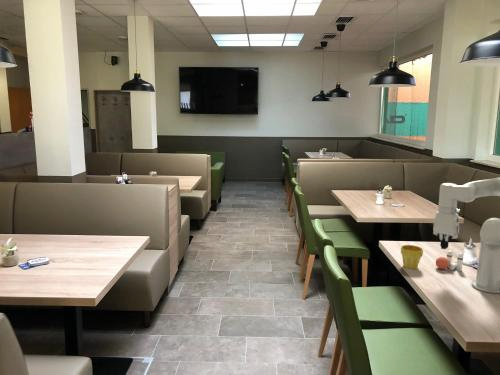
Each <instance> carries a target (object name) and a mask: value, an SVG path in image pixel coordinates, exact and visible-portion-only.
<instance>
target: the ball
mask: <svg viewBox="0 0 500 375" xmlns="http://www.w3.org/2000/svg"><path fill="white" fill-rule="evenodd" d="M435 266H436V267H437V268H438V269H440V270H445V269H448V268H447V267H448V266H449V261H448V260H447V257H443V256H440V257H438V258H436V259H435Z"/></svg>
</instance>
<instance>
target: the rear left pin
mask: <svg viewBox="0 0 500 375" xmlns="http://www.w3.org/2000/svg"><path fill="white" fill-rule="evenodd" d="M446 259H447V260H448V261H449V266H450V265H452V264H453V263H452V261H453V250H447V252H446ZM449 266H448V267H447V268H446V269H449Z"/></svg>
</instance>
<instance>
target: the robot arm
mask: <svg viewBox="0 0 500 375" xmlns="http://www.w3.org/2000/svg"><path fill="white" fill-rule="evenodd" d="M491 196H493V197H495V196H496V197H500V177H496V178H495V177H494V178H489V179H482V180H475V181H469V182H467V183H464V184H462V185H458V184H457V183H453V182H443V183H441V184H440V185H439V196H438V198H439V199H438V206H437V207H438V208H437V211H436V214H435V217H434V221H433V229H432V230H433V232H432V234H433V235H435V236H437V237H438V238H439V241H440V243H439V244H440V249H441V250H446V249H448V248H449V244H450V243H449V241H451V240H453V239H454V240H455V239H458V237H459V236H458V234H459V233H460V219H459V218H460V217H459V213H460V211H461V210H460V208H459V209H458V202H462V203H470V202H471V203H472V202H473V201H474V200H475V199H477V198H482V197H491ZM479 237H480V245H479V253H478V260H477V269H476V277H475V279H474V280H472V281H471V286H472V287H473V288H475V289H476V290H479V291H481V292H485V293H490V294H500V218H498V217H490V218H488V219H486V220H485V221H484V222H483V224H482V226H481V229H480V231H479Z"/></svg>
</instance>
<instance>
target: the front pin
mask: <svg viewBox="0 0 500 375" xmlns="http://www.w3.org/2000/svg"><path fill="white" fill-rule="evenodd" d="M456 267H457V260H456V261H455V262H453V263H451V265H450V266H449V268H448V269H449V271H453V270H456Z"/></svg>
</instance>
